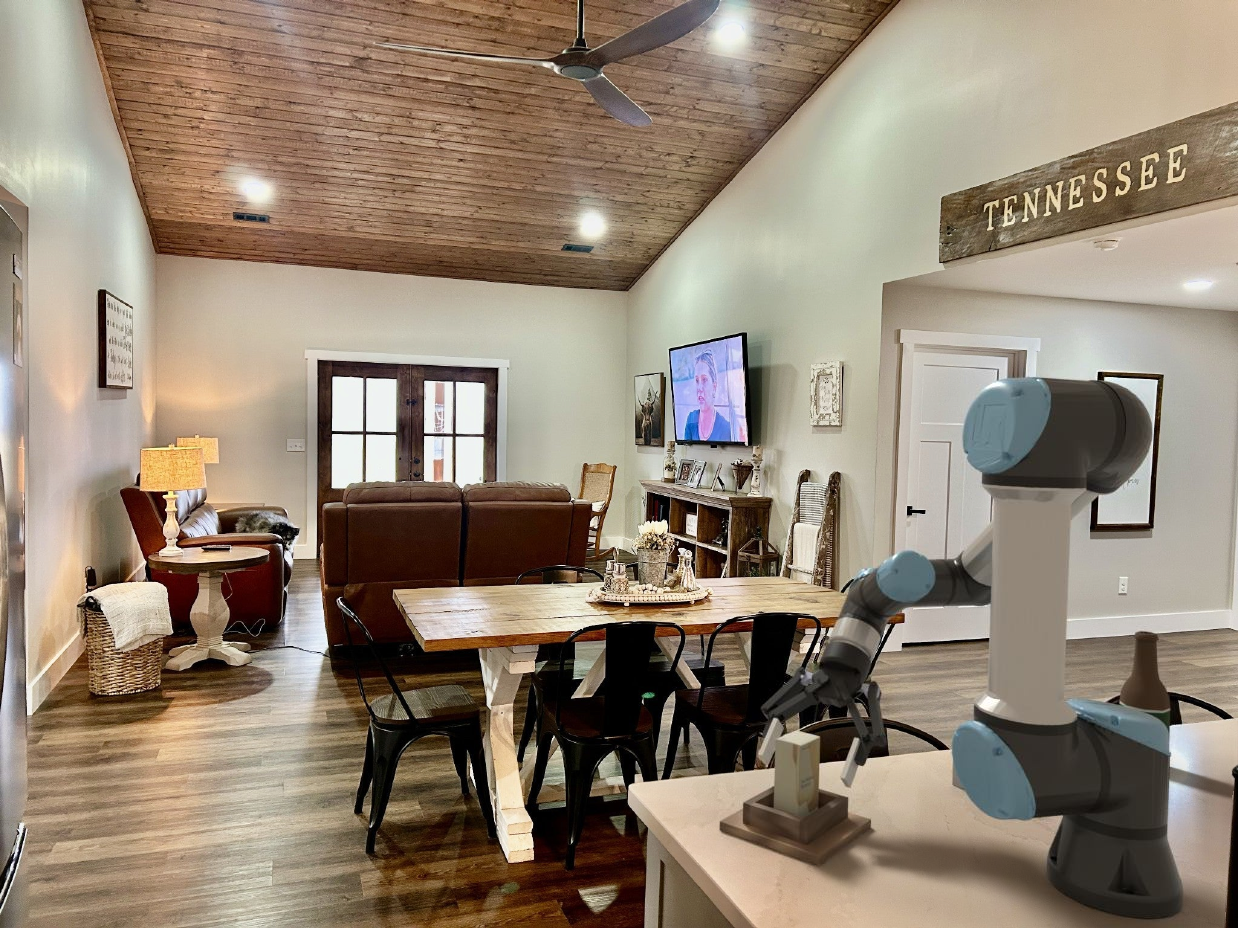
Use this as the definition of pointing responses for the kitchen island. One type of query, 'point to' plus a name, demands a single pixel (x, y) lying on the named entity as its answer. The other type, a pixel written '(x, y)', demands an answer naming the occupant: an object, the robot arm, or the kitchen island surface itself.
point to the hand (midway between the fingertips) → (802, 770)
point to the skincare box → (797, 773)
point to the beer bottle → (1146, 681)
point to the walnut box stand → (798, 826)
